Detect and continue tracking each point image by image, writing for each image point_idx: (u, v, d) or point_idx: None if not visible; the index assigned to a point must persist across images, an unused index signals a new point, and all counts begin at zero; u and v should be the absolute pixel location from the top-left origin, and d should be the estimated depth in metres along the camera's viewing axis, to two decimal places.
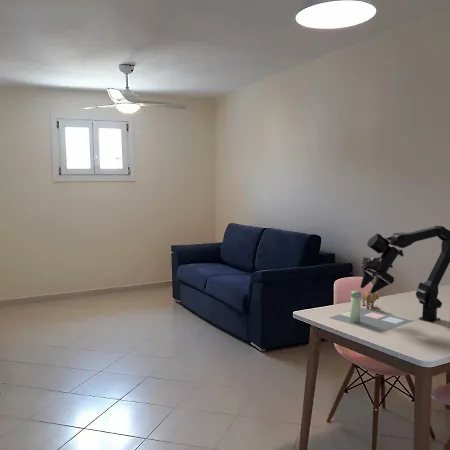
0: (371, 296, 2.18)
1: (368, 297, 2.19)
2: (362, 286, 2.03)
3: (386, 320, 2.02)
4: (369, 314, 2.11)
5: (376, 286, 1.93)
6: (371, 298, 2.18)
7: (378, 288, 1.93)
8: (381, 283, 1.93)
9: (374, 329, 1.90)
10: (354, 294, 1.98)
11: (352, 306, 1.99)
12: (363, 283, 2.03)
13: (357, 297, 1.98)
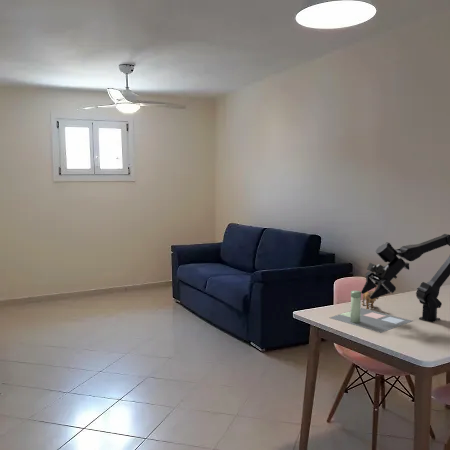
0: None
1: (368, 297, 2.20)
2: (363, 291, 2.05)
3: (386, 320, 2.02)
4: (369, 314, 2.11)
5: (376, 292, 1.95)
6: None
7: (379, 295, 1.95)
8: (382, 290, 1.95)
9: (374, 329, 1.90)
10: (354, 294, 1.98)
11: (352, 306, 1.99)
12: (364, 289, 2.05)
13: (357, 297, 1.98)
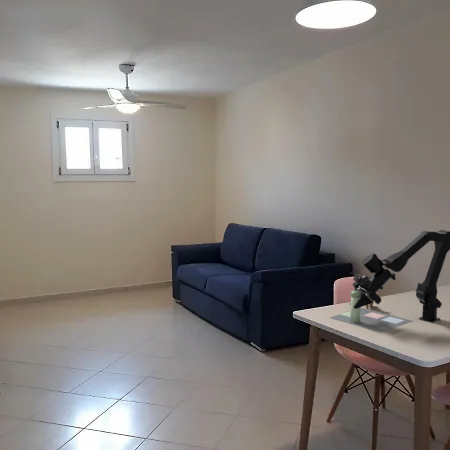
0: None
1: None
2: None
3: (386, 320, 2.02)
4: (369, 314, 2.11)
5: (360, 302, 1.97)
6: None
7: (362, 304, 1.97)
8: (365, 300, 1.97)
9: (374, 329, 1.90)
10: (354, 294, 1.98)
11: (352, 306, 1.99)
12: None
13: (357, 297, 1.98)
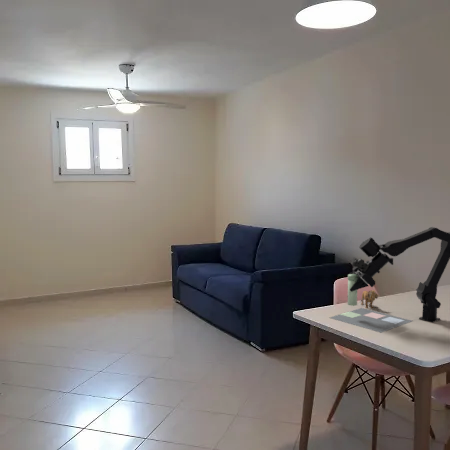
0: (370, 295, 2.19)
1: (367, 296, 2.21)
2: None
3: (386, 320, 2.02)
4: (369, 314, 2.11)
5: (356, 285, 2.01)
6: (370, 297, 2.20)
7: (358, 287, 2.01)
8: (361, 283, 2.01)
9: (374, 329, 1.90)
10: (350, 277, 2.03)
11: (348, 289, 2.04)
12: None
13: (353, 280, 2.02)
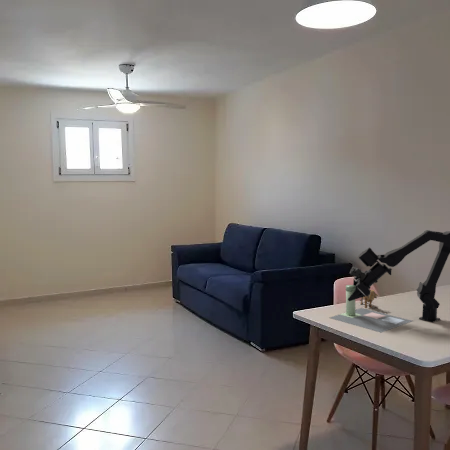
0: (369, 295, 2.20)
1: (366, 296, 2.22)
2: None
3: (386, 320, 2.02)
4: (369, 314, 2.11)
5: (353, 295, 2.04)
6: (369, 297, 2.20)
7: (355, 297, 2.04)
8: (359, 293, 2.04)
9: (374, 329, 1.90)
10: (347, 287, 2.09)
11: (346, 299, 2.10)
12: None
13: (350, 291, 2.08)
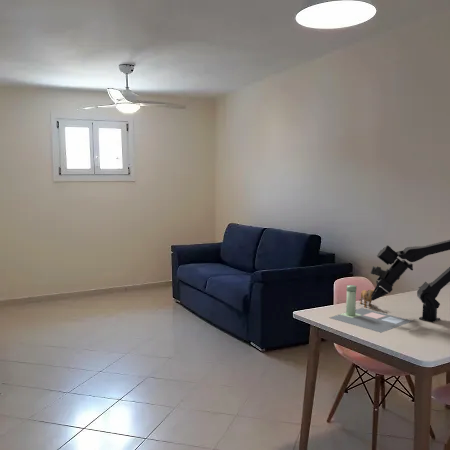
0: (369, 294, 2.21)
1: (366, 295, 2.22)
2: (372, 295, 2.12)
3: (386, 320, 2.02)
4: (369, 314, 2.11)
5: (376, 293, 2.02)
6: (369, 296, 2.21)
7: (378, 295, 2.01)
8: (381, 291, 2.01)
9: (374, 329, 1.90)
10: (348, 288, 2.09)
11: (347, 299, 2.10)
12: (374, 292, 2.12)
13: (351, 291, 2.08)
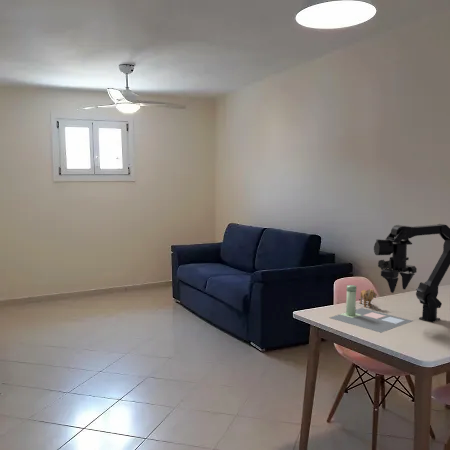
0: (368, 294, 2.21)
1: (365, 295, 2.23)
2: (403, 287, 2.05)
3: (386, 320, 2.02)
4: (369, 314, 2.11)
5: (390, 285, 1.98)
6: (368, 296, 2.21)
7: (393, 285, 1.97)
8: (392, 280, 1.97)
9: (374, 329, 1.90)
10: (348, 288, 2.09)
11: (347, 299, 2.10)
12: (403, 284, 2.05)
13: (351, 291, 2.08)
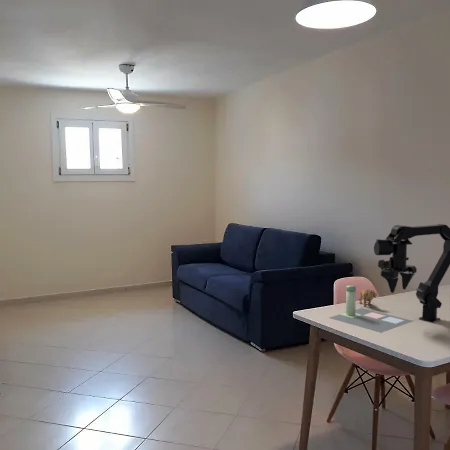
0: (368, 294, 2.21)
1: (365, 295, 2.23)
2: (403, 287, 2.05)
3: (386, 320, 2.02)
4: (369, 314, 2.11)
5: (390, 285, 1.98)
6: (368, 296, 2.22)
7: (393, 285, 1.97)
8: (392, 280, 1.97)
9: (374, 329, 1.90)
10: (347, 288, 2.09)
11: (346, 299, 2.10)
12: (403, 284, 2.05)
13: (351, 291, 2.08)
